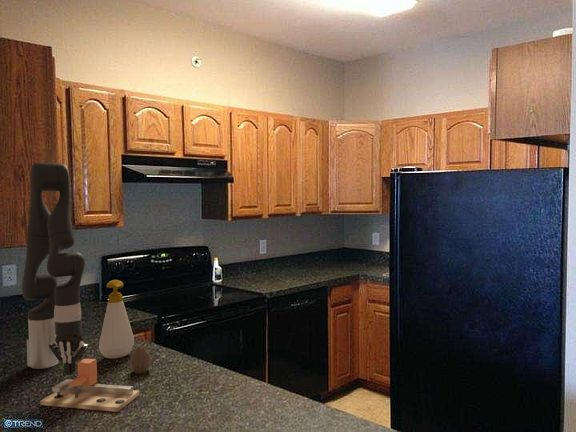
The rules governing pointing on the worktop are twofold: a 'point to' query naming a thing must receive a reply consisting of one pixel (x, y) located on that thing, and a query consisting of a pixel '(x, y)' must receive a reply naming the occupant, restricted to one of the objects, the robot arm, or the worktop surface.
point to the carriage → (85, 374)
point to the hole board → (89, 400)
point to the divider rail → (94, 388)
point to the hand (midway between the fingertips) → (70, 374)
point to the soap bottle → (116, 326)
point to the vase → (140, 360)
